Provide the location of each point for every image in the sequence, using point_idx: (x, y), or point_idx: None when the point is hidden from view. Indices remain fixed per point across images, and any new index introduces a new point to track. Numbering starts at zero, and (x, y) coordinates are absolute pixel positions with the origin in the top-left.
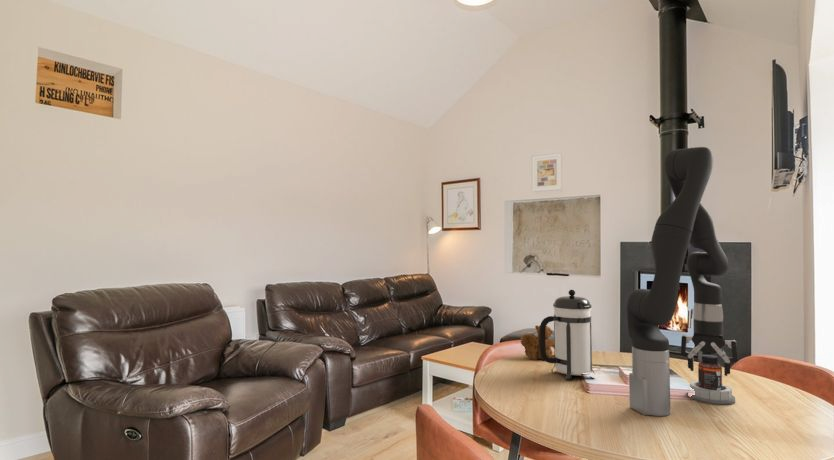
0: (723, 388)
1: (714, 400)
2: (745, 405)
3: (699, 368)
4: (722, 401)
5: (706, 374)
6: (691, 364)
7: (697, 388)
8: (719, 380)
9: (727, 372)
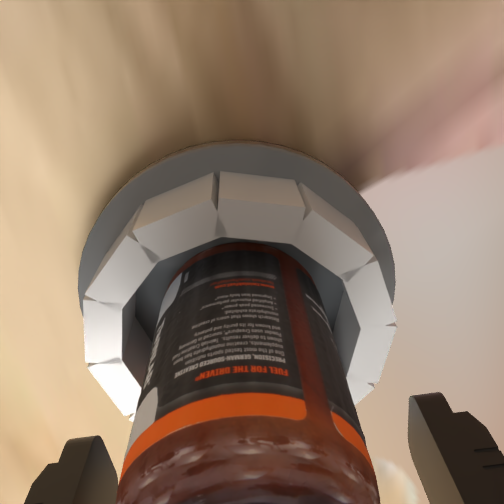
0: None
1: (179, 168)
2: (18, 279)
3: (352, 427)
4: (125, 187)
5: (260, 356)
6: (462, 454)
7: (321, 215)
8: (149, 368)
9: (59, 477)
